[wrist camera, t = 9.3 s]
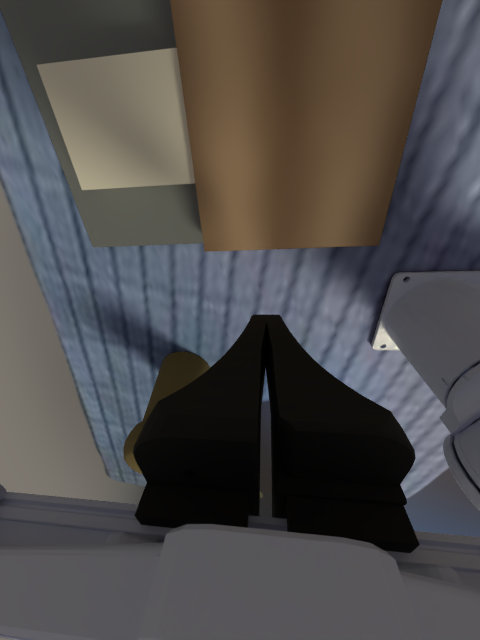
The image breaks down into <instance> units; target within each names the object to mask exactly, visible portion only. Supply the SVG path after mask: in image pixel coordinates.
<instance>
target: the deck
mask: <svg viewBox="0 0 480 640" xmlns="http://www.w3.org/2000/svg"><path fill="white" fill-rule="evenodd" d="M170 3H171V10H172V17H173V25H174V32H175V39H176V47H177V54H178V61H179V68H180V76H181V83H182V90H183V98H184V105H185V112H186V119H187V127H188V134H189V141H190V148H191V156H192V163H193V170H194V178H195V185H196V192H197V199H198V207H199V214H200V221H201V228H202V236H203V243H204V250H205V251H233V250H262V249H292V248H321V247H350V246H379V244H380V240H381V236H382V232H383V228H384V224H385V220H386V217H387V213H388V209H389V205H390V201H391V197H392V193H393V189H394V186H395V182H396V178H397V174H398V170H399V166H400V162H401V159H402V155H403V151H404V147H405V143H406V139H407V135H408V132H409V128H410V124H411V120H412V116H413V112H414V108H415V105H416V101H417V97H418V93H419V89H420V85H421V81H422V78H423V74H424V70H425V66H426V62H427V58H428V54H429V51H430V47H431V43H432V39H433V35H434V31H435V27H436V24H437V20H438V16H439V12H440V8H441V4H442V0H170Z"/></svg>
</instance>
